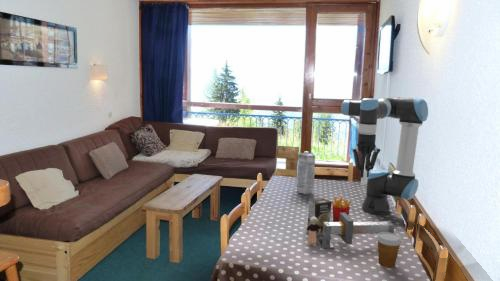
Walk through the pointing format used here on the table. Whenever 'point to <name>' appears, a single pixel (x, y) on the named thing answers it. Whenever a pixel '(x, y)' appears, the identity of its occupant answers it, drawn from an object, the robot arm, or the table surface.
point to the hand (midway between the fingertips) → (363, 184)
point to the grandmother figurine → (312, 231)
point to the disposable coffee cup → (388, 248)
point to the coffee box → (319, 212)
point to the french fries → (340, 208)
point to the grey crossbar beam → (357, 229)
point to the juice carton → (305, 172)
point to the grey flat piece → (347, 228)
